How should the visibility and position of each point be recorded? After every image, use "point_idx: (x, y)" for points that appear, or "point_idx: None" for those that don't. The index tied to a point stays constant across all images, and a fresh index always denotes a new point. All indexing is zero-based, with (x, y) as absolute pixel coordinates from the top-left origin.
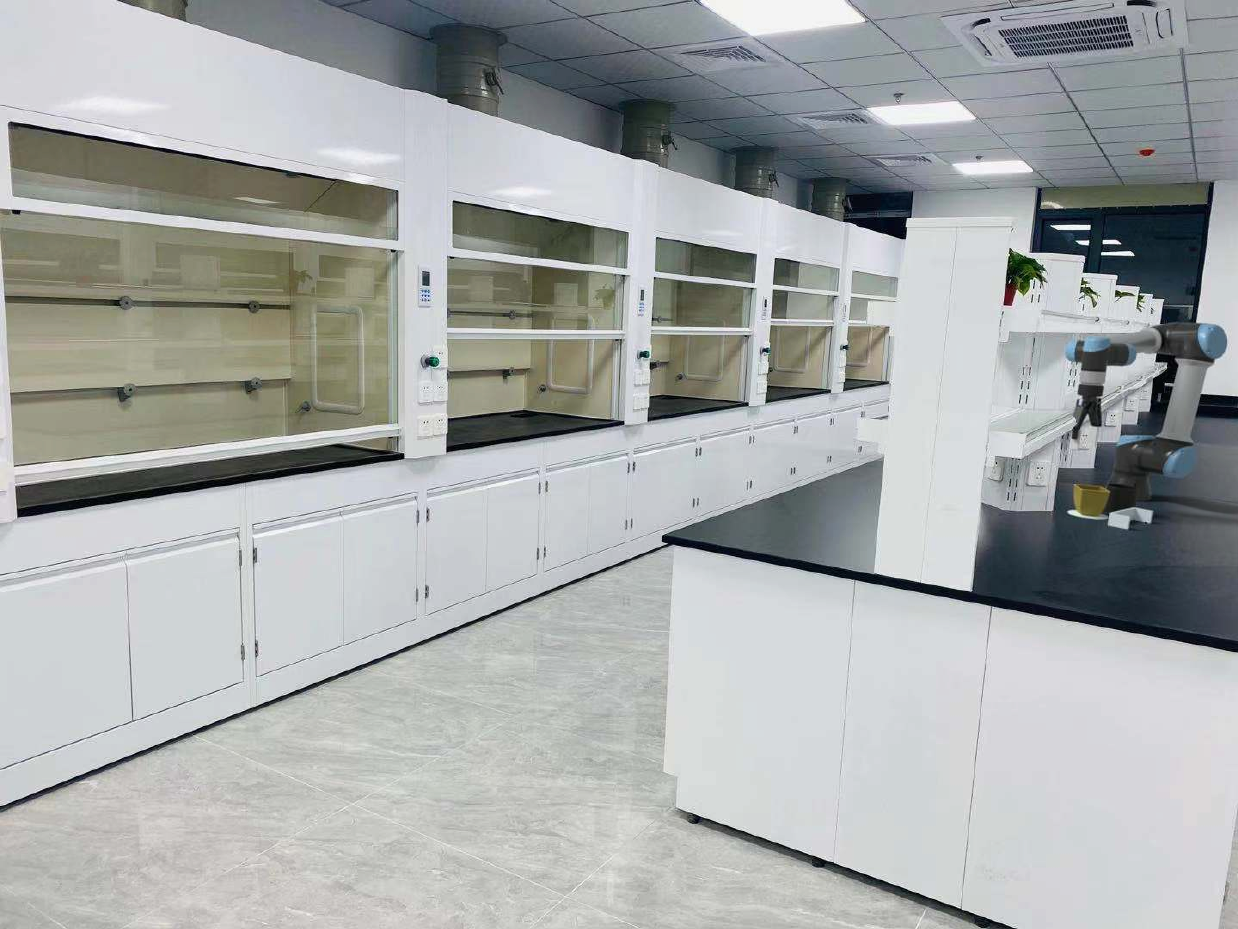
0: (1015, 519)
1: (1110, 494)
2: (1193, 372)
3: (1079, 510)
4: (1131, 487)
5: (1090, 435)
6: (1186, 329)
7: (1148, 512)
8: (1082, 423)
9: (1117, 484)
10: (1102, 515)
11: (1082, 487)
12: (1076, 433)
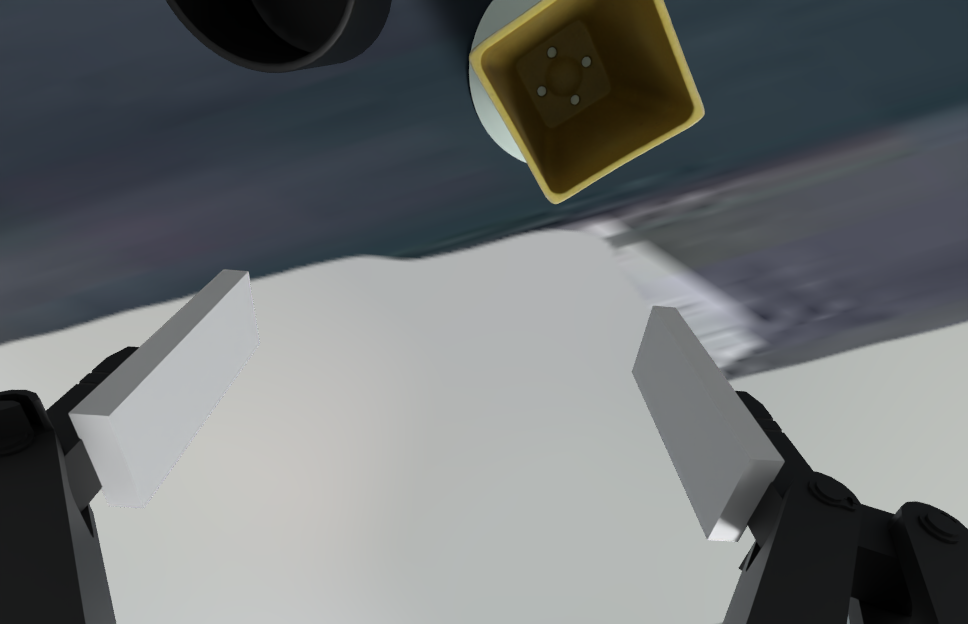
0: (927, 256)
1: (365, 15)
2: None
3: (612, 107)
4: None
5: (205, 390)
6: None
7: None
8: (777, 556)
9: (189, 18)
10: (521, 6)
11: (533, 156)
12: (794, 447)
